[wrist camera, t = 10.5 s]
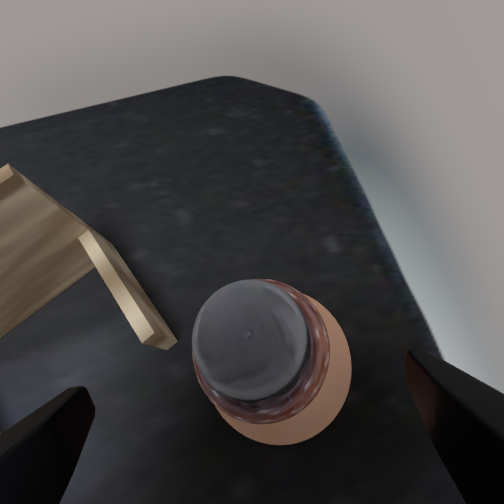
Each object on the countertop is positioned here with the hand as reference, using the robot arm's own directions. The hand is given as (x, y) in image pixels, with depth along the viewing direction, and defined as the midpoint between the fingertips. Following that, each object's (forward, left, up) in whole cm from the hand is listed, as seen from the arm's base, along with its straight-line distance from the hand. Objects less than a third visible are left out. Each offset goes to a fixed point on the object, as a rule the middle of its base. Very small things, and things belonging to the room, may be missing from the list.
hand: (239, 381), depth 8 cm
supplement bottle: (+2, 0, -13) cm, 13 cm away
